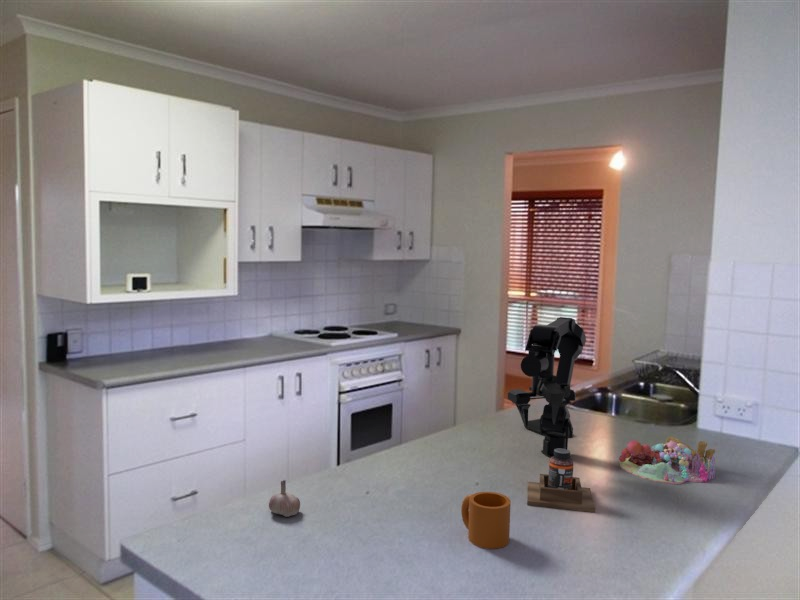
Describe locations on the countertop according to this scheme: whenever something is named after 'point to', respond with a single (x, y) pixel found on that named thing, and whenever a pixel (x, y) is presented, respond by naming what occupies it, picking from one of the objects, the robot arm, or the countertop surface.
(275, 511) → the garlic bulb
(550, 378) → the robot arm
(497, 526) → the mug
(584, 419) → the countertop surface
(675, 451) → the coral reef model
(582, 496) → the bottle stand
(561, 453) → the supplement bottle
